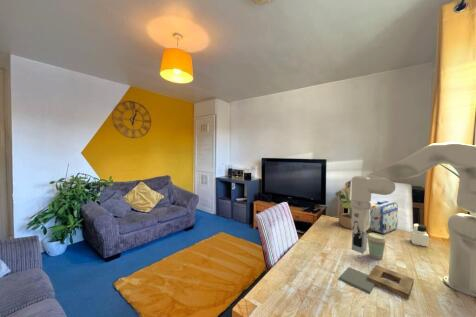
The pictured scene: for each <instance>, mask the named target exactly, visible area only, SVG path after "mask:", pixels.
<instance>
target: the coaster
mask: <svg viewBox="0 0 476 317" xmlns="http://www.w3.org/2000/svg"><path fill="white" fill-rule="evenodd" d="M368 275H369V274H367V273H364V272H362V271H359V270H357V269H355V268H353V267H349V266H348V267H347V268H346V269H345V270H344V272H342V274H341V275H340V276H338V280H340V281H342V280H343V281H342V282H344V281H345V282H344V283H347V284H349V285H351V286H353V287H355V288H356V289H359V290H361V291H364V292H366V293H368V294H371V293H372V290H373V289H374V288H375V286H376V285H375V283H374V282H372V281H370V280H367V277H368Z"/></svg>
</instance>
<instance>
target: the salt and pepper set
mask: <svg viewBox="0 0 476 317" xmlns="http://www.w3.org/2000/svg"><path fill="white" fill-rule="evenodd" d="M429 237H430V236H429V234H428V233H427V226H426V225H424V224H421V223H413V229H411V230H410V241H411V243H412V244H413V245H416V246H420V245H421V246H422V247H425V246H426V248H428V247H429V240H430V239H429Z"/></svg>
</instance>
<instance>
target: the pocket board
mask: <svg viewBox="0 0 476 317" xmlns="http://www.w3.org/2000/svg"><path fill="white" fill-rule="evenodd" d="M367 275H368V277H367V280H370V281H372V282H374V283H375V286H378V287H380V288H382V289H384V290H386V291H389V292H391V293H394V294H396V295H398V296H400V297H402V298H406V299H408V300H409V299H410V297H411V296H410V295H411V292H412V289H413V286H414V280H415V279H414V278H413V277H410V276H407V275H405V274H401V273H399V272H396V271H394V270H391V269H388V268H386V267H383V266H380V265H378V264H375V266H374V267H373V268H372V270H371V271H370V273H369V274H367ZM383 277H386V278H387V279H391V280H394V281H396V282H398V284H397V283H395V282H393V281H390V280H387V279H385V278H383Z"/></svg>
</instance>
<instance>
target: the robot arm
mask: <svg viewBox="0 0 476 317" xmlns="http://www.w3.org/2000/svg"><path fill="white" fill-rule="evenodd" d="M441 164H443V165H450V166H451V167H452V168H453V169H454V170H455V171H456V172H457V174H458V177H459V181H458V182H459V183H458V189H457V194H456V195H457V196H456V205H457V207H458V208H459V209H461V210H462V211H463V210H464V211H466V212H468V213H472V214H476V145H472V144H467V143H466V144H465V143H460V142H443V143H441V142H439V143H438V142H436V143H431V144H428V145H426V146H424V147H422V148H421V149H418V150H417V151H415V152H414V153H412V154H410V155H408V156H407V157H404V159H402V160H398V161H395V162H393V163H392V162H391V163H390V164H387V165H385V166H381V167H379V168H378V169H375V170H374V171H372V172H370V173H369V174H367V175H366V176H362V175H361V176H359V175H356V176H353V177H352V178H351V190H350V192H351V195H350V196H351V197H350V200H351V207H353V210H352V221H351V227H352V229H351V230H352V232H353V245H355V246H358V247H362V238H361V234H362V232H363V233H364V232H366V233H367V231H368V230H369V229H371V227H370V209H371V205H372V194H374V195H375V194H376V195H380V196H381V195H382V196H388V195H391V194H393V193H394V192H395V190H396V184H395V182H394V181H393V180H400V179H409V178H411V179H412V178H414V177H415V178H416V177H419V176H421V175H423V174H424V173H425V172H426V173H427V171H429V170H431V169H433V168H435V167H437V166H439V165H441ZM447 228H448V231H449V239H450V241H449V256H448V258H449V259H448V260H449V261H448V275H445V276H443V280H442V281H443V282H444V284H445V285H447V286H448V287H449V288H451V289H453V290H455V291H457V292H459V293H461V294H464V295H466V296H469V297H474V298H476V216H475V215H471V214H467V213H461V212H460V213H454V214H452V215H450V216H449V217H448V220H447ZM358 232H359V233H358Z"/></svg>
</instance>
